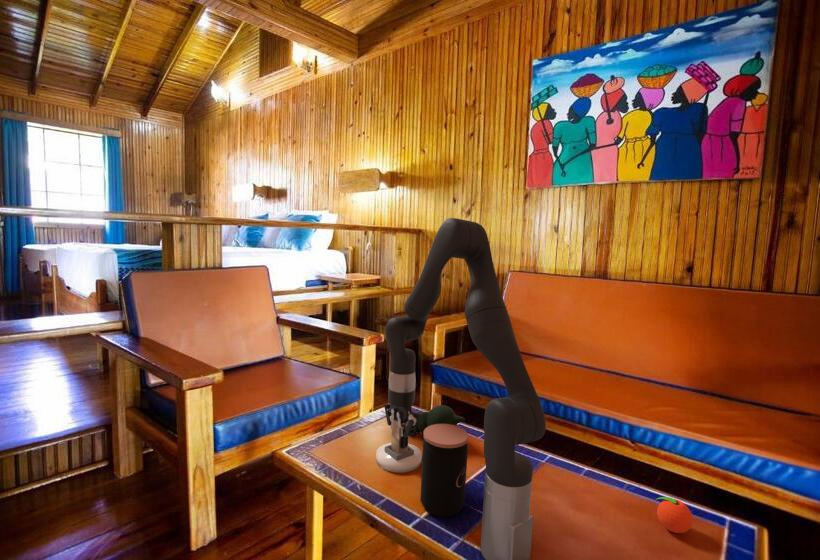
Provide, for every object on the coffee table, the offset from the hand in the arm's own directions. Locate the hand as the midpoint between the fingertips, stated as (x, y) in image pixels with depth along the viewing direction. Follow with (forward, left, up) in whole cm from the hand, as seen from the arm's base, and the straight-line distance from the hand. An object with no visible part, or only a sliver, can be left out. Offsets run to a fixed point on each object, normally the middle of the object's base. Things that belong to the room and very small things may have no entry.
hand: (399, 444), depth 123 cm
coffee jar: (-22, +3, -5) cm, 23 cm away
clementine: (-58, -35, -5) cm, 68 cm away
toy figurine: (+7, -16, -5) cm, 18 cm away
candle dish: (0, 0, -5) cm, 5 cm away
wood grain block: (0, 0, -2) cm, 2 cm away
